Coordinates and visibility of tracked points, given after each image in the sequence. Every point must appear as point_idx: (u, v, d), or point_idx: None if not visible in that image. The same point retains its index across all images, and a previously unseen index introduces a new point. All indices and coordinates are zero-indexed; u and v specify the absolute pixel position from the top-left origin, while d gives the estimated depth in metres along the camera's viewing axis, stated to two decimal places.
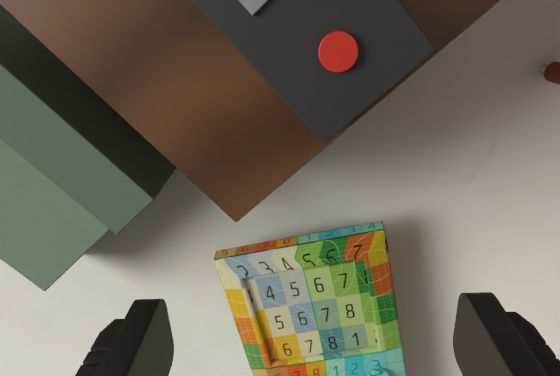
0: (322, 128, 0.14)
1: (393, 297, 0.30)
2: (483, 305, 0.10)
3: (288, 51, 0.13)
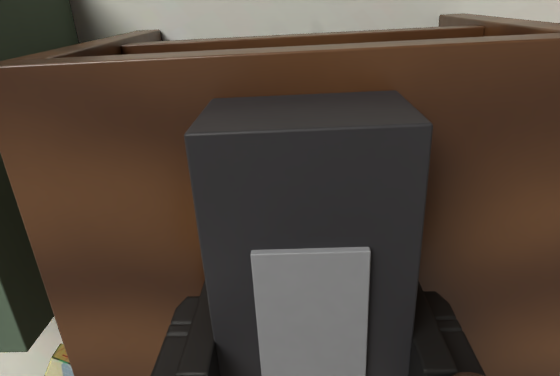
0: None
1: None
2: None
3: None
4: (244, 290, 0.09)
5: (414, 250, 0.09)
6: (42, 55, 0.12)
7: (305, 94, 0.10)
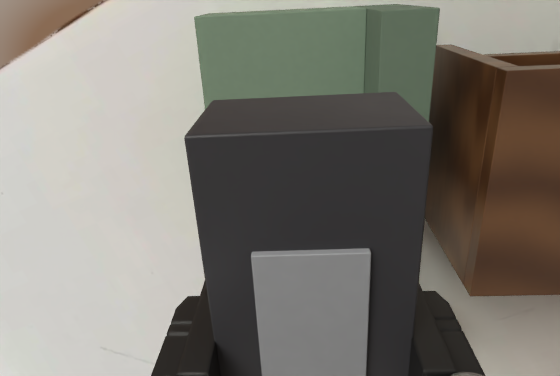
0: None
1: None
2: None
3: None
4: (244, 291, 0.09)
5: (414, 251, 0.09)
6: (503, 64, 0.23)
7: (305, 96, 0.10)
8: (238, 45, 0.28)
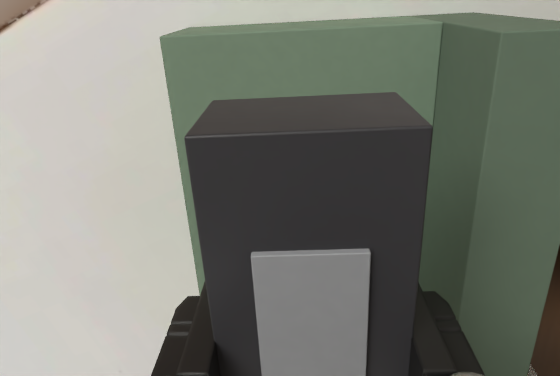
0: None
1: None
2: None
3: None
4: (244, 291, 0.09)
5: (414, 252, 0.09)
6: None
7: (305, 96, 0.10)
8: (232, 81, 0.18)
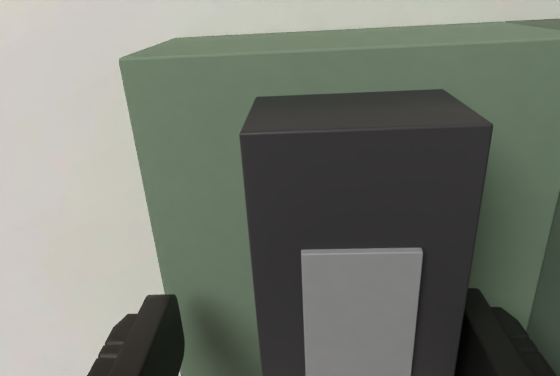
0: None
1: None
2: (468, 300, 0.11)
3: None
4: (292, 289, 0.09)
5: (467, 251, 0.09)
6: None
7: None
8: (237, 130, 0.11)
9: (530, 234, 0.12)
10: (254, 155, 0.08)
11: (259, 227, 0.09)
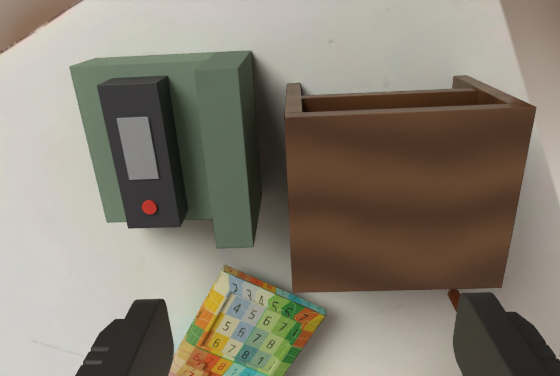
0: (130, 223, 0.36)
1: (299, 351, 0.47)
2: (483, 305, 0.10)
3: (134, 195, 0.35)
4: (117, 130, 0.33)
5: (160, 117, 0.32)
6: (294, 109, 0.30)
7: None
8: None
9: None
10: (100, 91, 0.32)
11: (105, 111, 0.32)
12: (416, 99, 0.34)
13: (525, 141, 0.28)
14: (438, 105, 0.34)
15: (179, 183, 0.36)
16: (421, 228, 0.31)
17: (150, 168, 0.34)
